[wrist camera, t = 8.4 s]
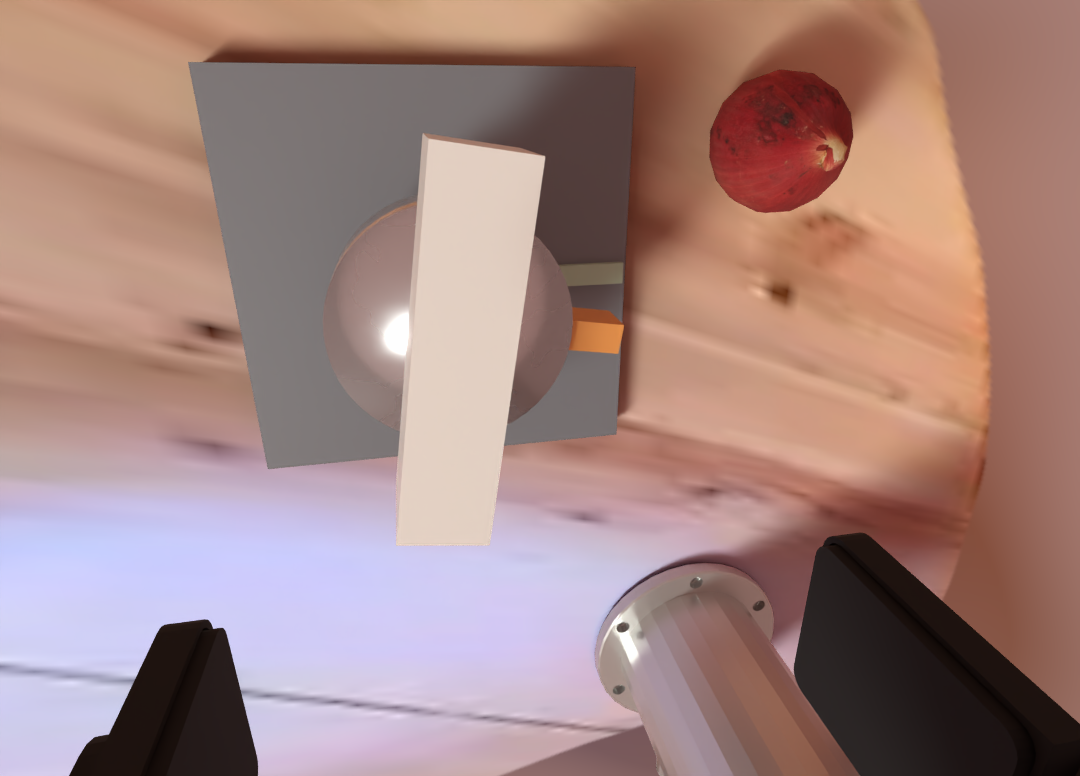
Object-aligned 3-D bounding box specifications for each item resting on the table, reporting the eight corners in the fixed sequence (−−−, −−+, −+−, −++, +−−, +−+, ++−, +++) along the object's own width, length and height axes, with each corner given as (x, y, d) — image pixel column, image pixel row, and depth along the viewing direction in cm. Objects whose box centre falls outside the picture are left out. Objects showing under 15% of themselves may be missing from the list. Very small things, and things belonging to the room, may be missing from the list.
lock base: (608, 422, 37) (641, 471, 32) (273, 454, 33) (252, 515, 28) (624, 68, 29) (670, 61, 24) (198, 64, 26) (153, 54, 21)
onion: (659, 138, 31) (739, 148, 24) (748, 45, 30) (859, 26, 23) (727, 224, 33) (818, 256, 26) (812, 139, 33) (930, 149, 25)
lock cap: (633, 162, 25) (711, 181, 19) (577, 453, 30) (625, 545, 24) (335, 117, 23) (312, 121, 16) (325, 444, 27) (305, 545, 21)
